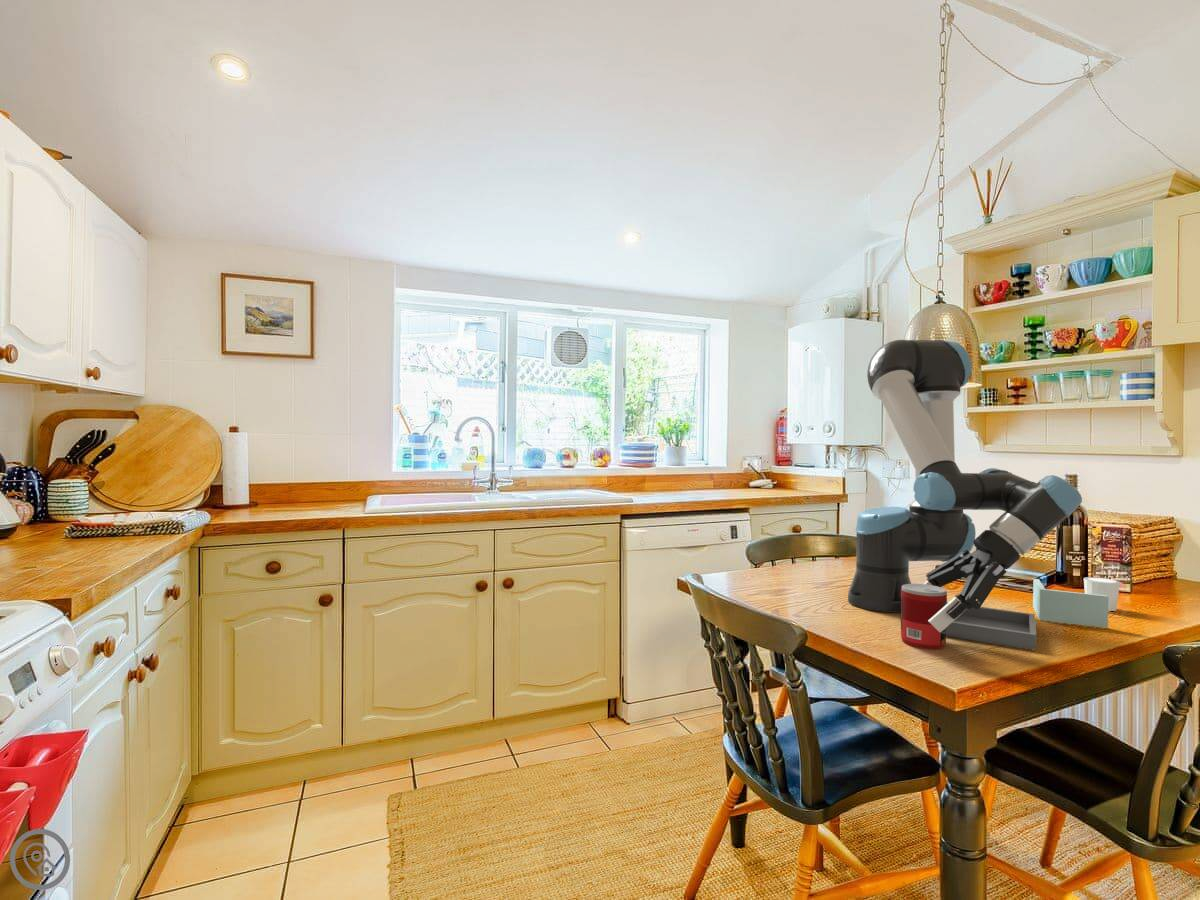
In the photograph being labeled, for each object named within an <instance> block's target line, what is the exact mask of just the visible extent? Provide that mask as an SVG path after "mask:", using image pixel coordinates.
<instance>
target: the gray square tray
mask: <svg viewBox="0 0 1200 900" xmlns="http://www.w3.org/2000/svg"><path fill="white" fill-rule="evenodd" d="M947 603H949V601H947ZM1036 625H1037V624H1036V613H1028V612H1021V611H1014V610H1006V609H1000V608H998V609H997V608H990V607H986V606H985V607H983V606H981V607H980V608H979V609H975V608H974V607H972V608H971V609H968V608H967V610H966V611H964V612H963V613H962V614H961V615H960V616H959V617H958V618H956V619H955V620H954V621H953V622H952V623H951V624H950V625H948V626H947V627H946V637H950V638H956V639H963V640H967V641H974V642H981V643H986V644H987V643H988V644H993V645H999V646H1005V647H1011V648H1016V647H1018V648H1017V649H1023V648H1027V649H1026V650H1029V649H1034V650H1033V651H1035V650H1036V651H1037V628H1036V627H1037V626H1036Z"/></svg>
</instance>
